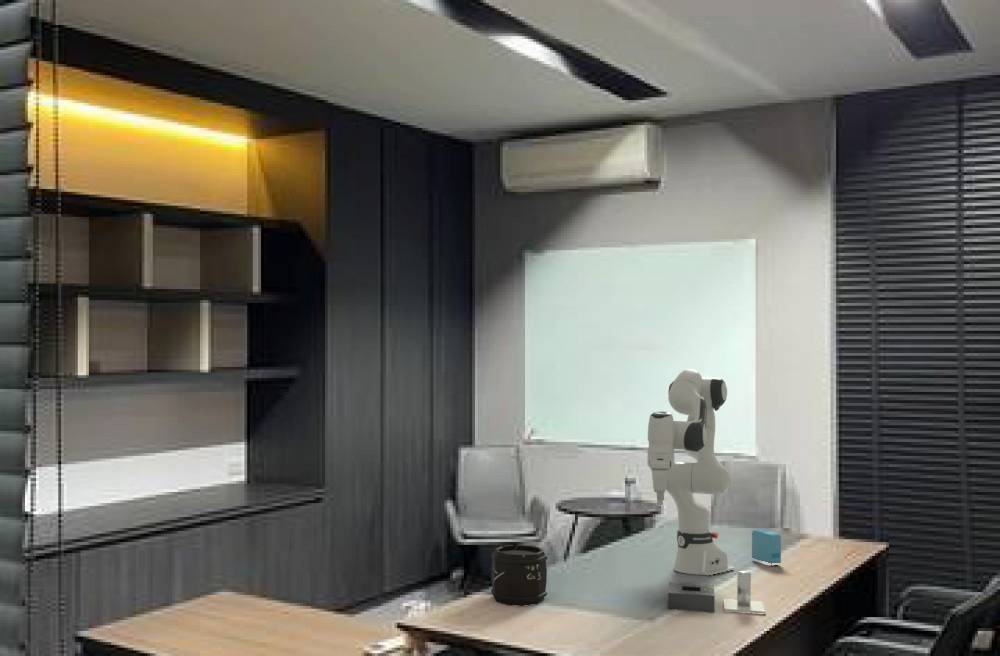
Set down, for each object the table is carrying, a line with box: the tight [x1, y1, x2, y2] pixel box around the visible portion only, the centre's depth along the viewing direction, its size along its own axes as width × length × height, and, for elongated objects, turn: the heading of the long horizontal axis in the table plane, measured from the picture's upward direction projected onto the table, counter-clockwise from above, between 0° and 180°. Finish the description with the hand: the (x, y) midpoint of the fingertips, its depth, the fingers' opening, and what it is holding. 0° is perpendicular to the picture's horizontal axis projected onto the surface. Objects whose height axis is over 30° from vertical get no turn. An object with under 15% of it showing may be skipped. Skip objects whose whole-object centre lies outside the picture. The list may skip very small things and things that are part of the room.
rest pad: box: [723, 598, 766, 614], centre depth 288 cm, size 12×12×1 cm
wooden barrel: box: [490, 544, 548, 607], centre depth 295 cm, size 18×18×16 cm
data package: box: [751, 528, 782, 564], centre depth 352 cm, size 12×4×12 cm, turn 21°
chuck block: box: [667, 581, 716, 613], centre depth 291 cm, size 14×14×5 cm
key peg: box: [736, 570, 752, 607], centre depth 288 cm, size 4×4×10 cm
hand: (660, 502), depth 309 cm, fingers open, 8 cm apart
